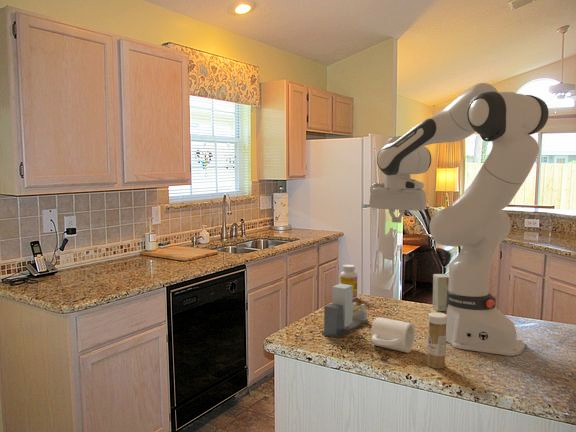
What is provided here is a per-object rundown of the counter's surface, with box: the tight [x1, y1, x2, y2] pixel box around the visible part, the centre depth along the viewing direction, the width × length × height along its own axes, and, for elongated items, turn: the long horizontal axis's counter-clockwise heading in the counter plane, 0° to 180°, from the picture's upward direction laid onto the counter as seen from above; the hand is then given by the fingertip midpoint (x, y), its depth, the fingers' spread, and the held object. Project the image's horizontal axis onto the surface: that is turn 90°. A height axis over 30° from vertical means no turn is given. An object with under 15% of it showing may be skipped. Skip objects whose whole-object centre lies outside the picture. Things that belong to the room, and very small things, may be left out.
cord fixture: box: [321, 301, 369, 339], centre depth 151 cm, size 6×19×9 cm, turn 145°
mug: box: [370, 316, 416, 353], centre depth 133 cm, size 12×10×8 cm
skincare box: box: [432, 273, 449, 312], centre depth 171 cm, size 6×4×12 cm
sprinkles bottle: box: [426, 311, 447, 369], centre depth 122 cm, size 5×5×13 cm
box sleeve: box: [331, 282, 354, 327], centre depth 149 cm, size 4×5×12 cm
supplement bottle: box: [339, 264, 358, 301], centre depth 186 cm, size 7×7×13 cm
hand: (396, 222), depth 170 cm, fingers closed
